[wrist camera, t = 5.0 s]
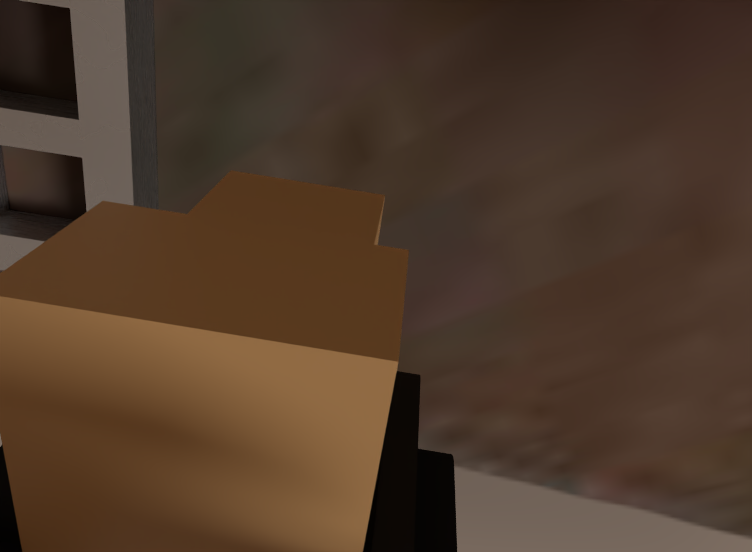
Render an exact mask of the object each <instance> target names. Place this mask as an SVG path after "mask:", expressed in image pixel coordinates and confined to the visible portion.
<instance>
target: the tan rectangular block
mask: <svg viewBox="0 0 752 552" xmlns="http://www.w3.org/2000/svg"><path fill="white" fill-rule="evenodd" d="M384 198H385V195H380V194H374V193H368V192H362V191H356V190H349V189H343V188H337V187H331V186H324V185H318V184H312V183H306V182H300V181H293V180H287V179H281V178H275V177H268V176H262V175H256V174H250V173H243V172H237V171H230V172H229V173H228V174H227V175H226V176H225V177H224V178H223V179H222V180H221V181H220V182H219V183H218V184H217V185H216V186H215V187H214V188H213V189H212V190H211V191H210V192H209V193H208V194H207V195H206V196H205V197H204V198H203V199H202V200H201V201H200V202H199V203H198V204H197V205H196V206H195V207H194V208H193V209H192V210H191V211H190V212H189V213H188V214H182V213H176V212H170V211H164V210H158V209H152V208H145V207H139V206H133V205H127V204H121V203H115V202H108V201H102V202H100V203H99V204H97V205H96V206H95V207H93V208H92V209H90V210H89V211H88V212H86V213H85V214H83V215H82V216H81V217H79V218H78V219H76V220H75V221H73V222H72V223H71V224H69V225H68V226H66V227H65V228H64V229H62V230H61V231H59V232H58V233H57V234H55V235H54V236H52V237H51V238H49V239H48V240H47V241H45V242H44V243H42V244H41V245H40V246H38V247H37V248H35V249H34V250H33V251H31V252H30V253H28V254H27V255H25V256H24V257H23V258H21V259H20V260H18V261H17V262H16V263H14V264H13V265H11V266H10V267H9V268H7V269H6V270H4V271H3V272H1V273H0V434H1V440H2V445H3V450H4V456H5V461H6V467H7V472H8V477H9V483H10V488H11V493H12V499H13V504H14V509H15V515H16V520H17V526H18V531H19V536H20V542H21V547H22V552H363V548H364V543H365V537H366V532H367V527H368V521H369V516H370V511H371V505H372V500H373V495H374V489H375V484H376V479H377V473H378V468H379V463H380V457H381V452H382V446H383V441H384V436H385V430H386V425H387V420H388V414H389V409H390V404H391V398H392V393H393V388H394V382H395V377H396V372H397V366H398V360H399V350H400V339H401V329H402V318H403V307H404V297H405V286H406V276H407V265H408V255H409V250H405V249H399V248H392V247H386V246H380V245H377V244H378V238H379V231H380V225H381V218H382V212H383V205H384Z"/></svg>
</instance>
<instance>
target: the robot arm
mask: <svg viewBox="0 0 752 552" xmlns="http://www.w3.org/2000/svg"><path fill="white" fill-rule="evenodd" d="M419 402H420V375H417V374H411V373H405V372H399V371H397V372H396V377H395V382H394V388H393V393H392V398H391V404H390V409H389V414H388V420H387V425H386V430H385V436H384V441H383V446H382V452H381V457H380V463H379V468H378V473H377V479H376V484H375V489H374V495H373V500H372V505H371V511H370V516H369V521H368V527H367V532H366V537H365V543H364V548H363V552H457V538H456V537H457V536H456V508H455V481H454V460H453V456H452V454H446V453H440V452H434V451H428V450H422V449H418V429H419ZM0 552H22V547H21V542H20V536H19V531H18V526H17V520H16V515H15V509H14V504H13V499H12V493H11V488H10V483H9V477H8V472H7V467H6V461H5V456H4V450H3V445H2V446H1V447H0Z"/></svg>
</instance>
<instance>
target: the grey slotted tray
mask: <svg viewBox="0 0 752 552" xmlns="http://www.w3.org/2000/svg"><path fill="white" fill-rule="evenodd" d="M21 1H27V2H33V3H40V4H46V5H53V6H59V7H66V8H70V16H71V28H72V40H73V52H74V65H75V77H76V89H77V101H78V102H75V101H69V100H62V99H56V98H49V97H43V96H37V95H30V94H24V93H17V92H11V91H5V90H0V145H5V146H11V147H18V148H24V149H30V150H37V151H43V152H50V153H56V154H62V155H69V156H75V157H81V158H82V162H83V174H84V186H85V198H86V211H87V212H88V211H89V210H90V209H92V208H93V207H95V206H96V205H97V204H99V203H100V202H102V201H108V202H115V203H121V204H127V205H133V206H139V207H145V208H152V209H158V185H157V145H156V106H155V67H154V28H153V0H21ZM73 221H75V220H72V219H66V218H59V217H53V216H47V215H40V214H34V213H27V212H21V211H15V210H9V203H8V196H7V189H6V182H5V175H4V168H3V161H2V154H1V147H0V270H6V269H7V268H9V267H10V266H11V265H13V264H14V263H16V262H17V261H18V260H20V259H21V258H23V257H24V256H25V255H27V254H28V253H30V252H31V251H33V250H34V249H35V248H37V247H38V246H40V245H41V244H42V243H44V242H45V241H47V240H48V239H49V238H51V237H52V236H54V235H55V234H57V233H58V232H59V231H61V230H62V229H64V228H65V227H66V226H68V225H69V224H71V223H72V222H73Z"/></svg>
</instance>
